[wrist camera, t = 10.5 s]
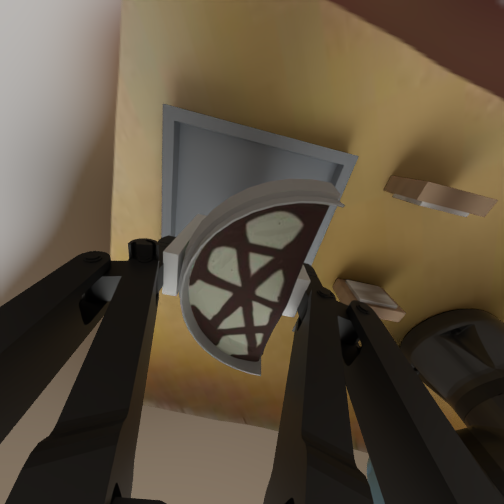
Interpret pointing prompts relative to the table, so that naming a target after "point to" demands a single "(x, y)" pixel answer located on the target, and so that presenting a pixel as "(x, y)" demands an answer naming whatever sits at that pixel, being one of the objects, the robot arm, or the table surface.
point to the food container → (249, 266)
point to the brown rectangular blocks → (422, 196)
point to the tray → (235, 166)
